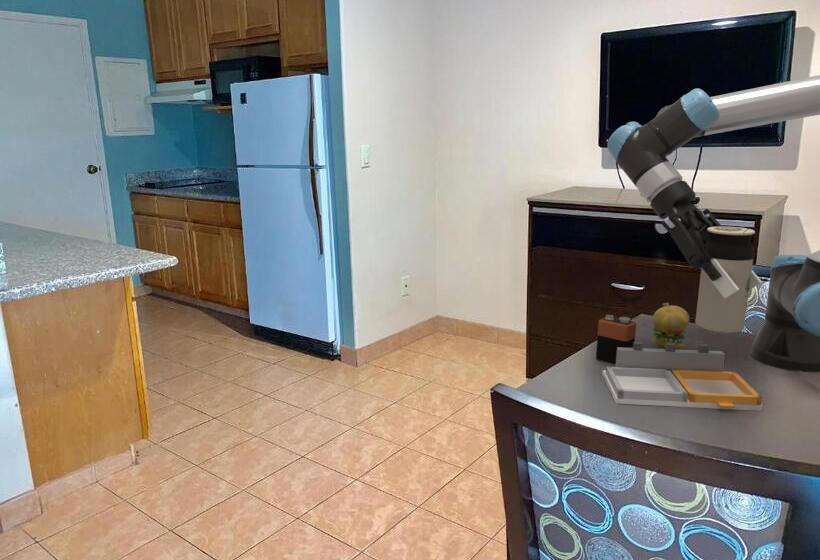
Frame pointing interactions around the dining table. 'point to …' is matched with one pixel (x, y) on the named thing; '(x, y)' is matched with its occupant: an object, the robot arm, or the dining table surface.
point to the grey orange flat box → (677, 379)
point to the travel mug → (737, 262)
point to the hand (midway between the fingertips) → (743, 290)
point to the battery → (614, 337)
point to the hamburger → (670, 326)
